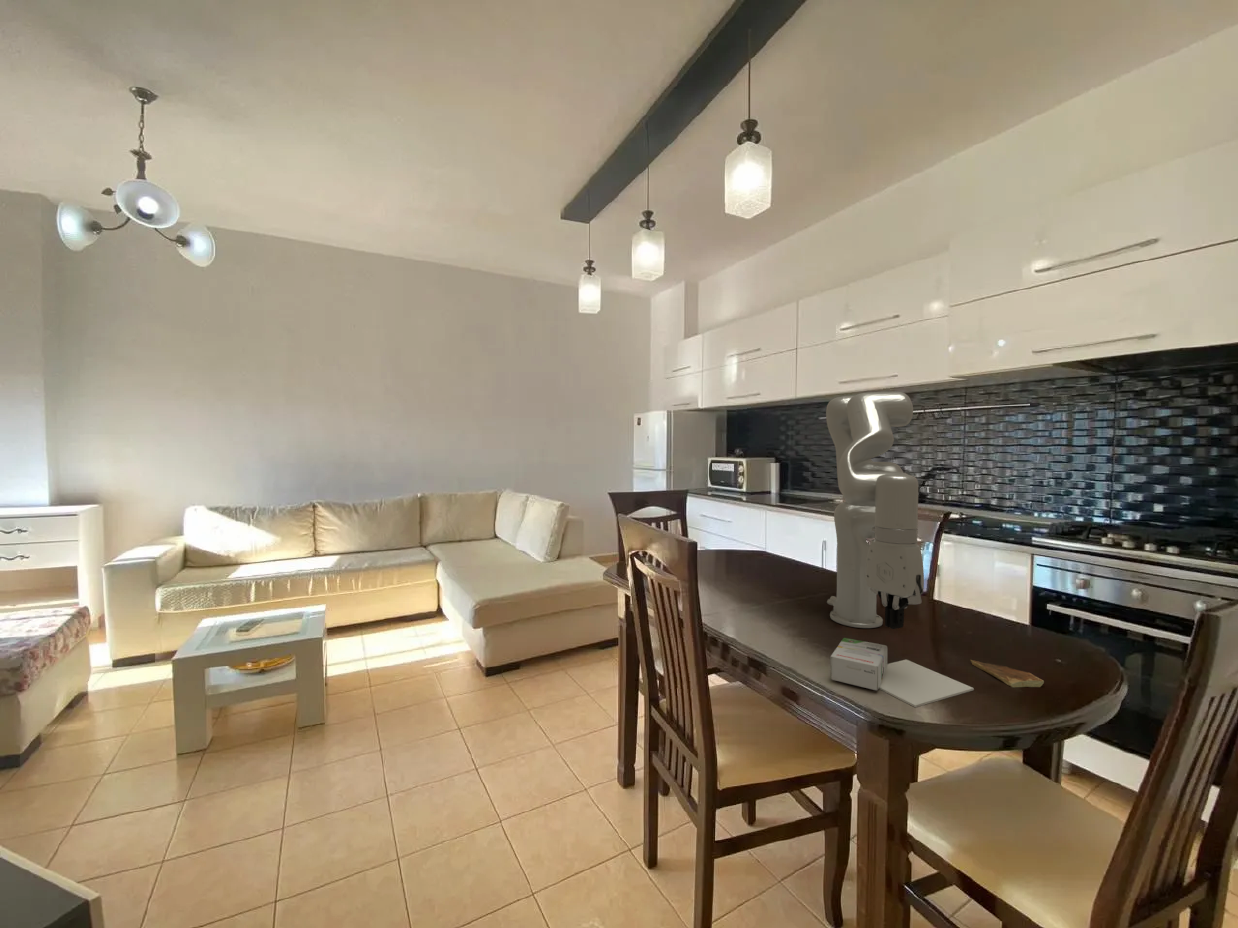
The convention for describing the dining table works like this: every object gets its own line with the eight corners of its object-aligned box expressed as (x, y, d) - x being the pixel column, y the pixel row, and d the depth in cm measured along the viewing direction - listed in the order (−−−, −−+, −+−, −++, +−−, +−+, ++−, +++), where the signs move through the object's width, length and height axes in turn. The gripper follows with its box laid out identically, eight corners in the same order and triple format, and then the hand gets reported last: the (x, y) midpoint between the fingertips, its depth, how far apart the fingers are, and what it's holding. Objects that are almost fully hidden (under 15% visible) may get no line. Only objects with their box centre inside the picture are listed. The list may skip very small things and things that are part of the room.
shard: (969, 665, 108) (969, 657, 108) (1004, 665, 108) (1004, 656, 108) (1010, 690, 97) (1010, 680, 97) (1049, 689, 97) (1049, 680, 97)
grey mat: (850, 674, 103) (850, 672, 103) (906, 661, 109) (906, 659, 109) (915, 707, 90) (915, 705, 90) (973, 690, 96) (973, 688, 96)
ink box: (843, 659, 109) (829, 680, 99) (842, 636, 109) (829, 655, 99) (887, 668, 104) (878, 692, 95) (887, 644, 104) (878, 665, 94)
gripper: (851, 531, 107) (850, 617, 108) (917, 543, 93) (915, 642, 94) (877, 529, 110) (876, 613, 111) (944, 541, 96) (942, 636, 97)
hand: (894, 626), depth 102 cm, fingers closed
